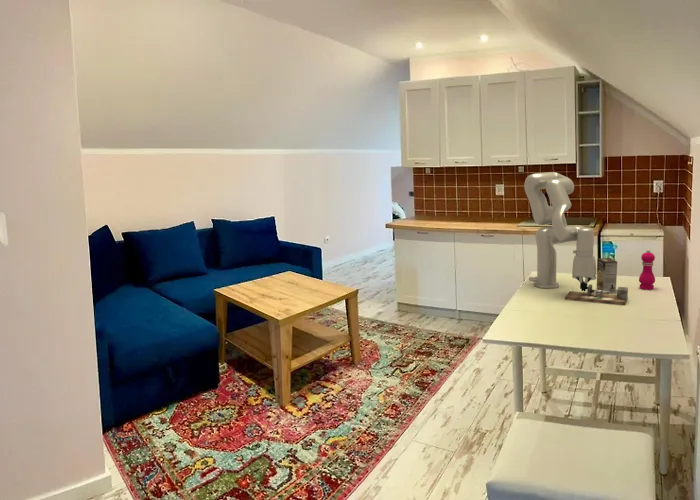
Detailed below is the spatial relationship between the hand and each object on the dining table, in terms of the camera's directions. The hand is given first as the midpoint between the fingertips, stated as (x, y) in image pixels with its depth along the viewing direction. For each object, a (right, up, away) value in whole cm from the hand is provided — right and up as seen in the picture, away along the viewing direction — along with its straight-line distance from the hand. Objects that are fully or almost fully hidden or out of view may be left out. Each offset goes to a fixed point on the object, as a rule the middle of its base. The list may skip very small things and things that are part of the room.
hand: (583, 290), depth 265 cm
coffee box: (+15, -1, +10) cm, 18 cm away
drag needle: (+4, -3, -9) cm, 10 cm away
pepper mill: (+36, 0, +10) cm, 38 cm away
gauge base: (+4, -4, -4) cm, 7 cm away
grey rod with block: (+5, -2, -4) cm, 7 cm away
